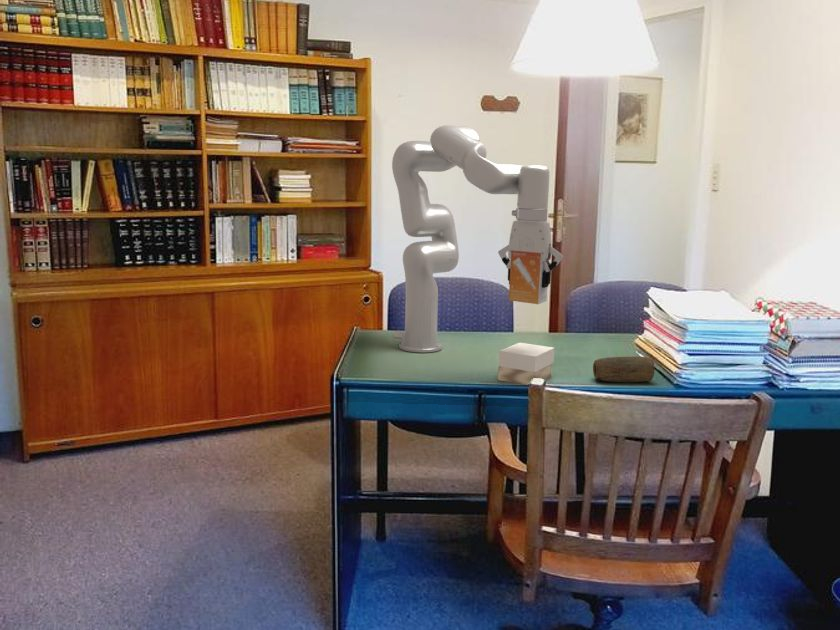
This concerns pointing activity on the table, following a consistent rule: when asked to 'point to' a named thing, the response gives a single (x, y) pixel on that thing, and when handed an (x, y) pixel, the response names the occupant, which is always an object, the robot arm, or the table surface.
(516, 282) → the small box
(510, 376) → the tower bottom
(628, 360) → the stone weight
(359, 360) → the table surface
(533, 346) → the white flat block
